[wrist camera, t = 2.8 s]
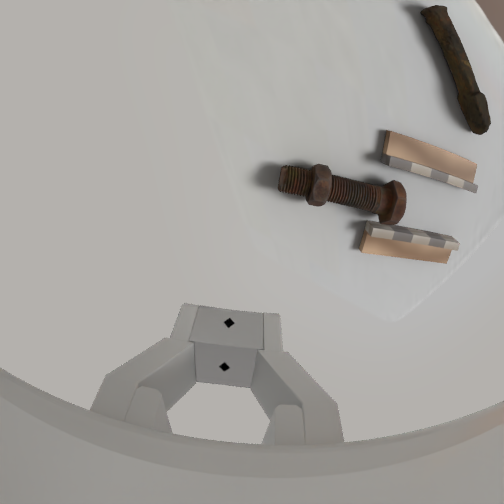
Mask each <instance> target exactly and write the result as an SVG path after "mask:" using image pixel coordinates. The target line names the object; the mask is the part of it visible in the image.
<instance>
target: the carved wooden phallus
mask: <svg viewBox="0 0 504 504" xmlns="http://www.w3.org/2000/svg"><path fill="white" fill-rule="evenodd" d="M421 14H422V15H424V16H425V17H426V23H427V24H429V25H430V26H431V28H432V30H433V32H434V34H435V36H436V38H437V39H438V41H439V44H440V46H441V48H442V50H443V52H444V57H445V58H446V60H447V62H448V65H449V68H450V70H451V72H452V75H453V77H454V80H455V83H456V86H457V89H458V91H459V95H458V101H459V104H460V107H461V109H462V111H463V114H464V116H465V118H466V120H467V122H468V124H469V126H470V128H471V130H472V132H473V133H475V134H479V135H482V134H483V133H485V132H487V130H488V129H489V125H490V124H491V121H490V116H489V111H488V104H487V100H486V97H485V95H484V94H483V93H481V92H480V90H479V88H478V85H477V83H476V80H475V76H474V73H473V71H472V68H471V65H470V63H469V60H468V57H467V55H466V53H465V50H464V48H463V45H462V43H461V40H460V38H459V36H458V34H457V32H456V30H455V28H454V25H453V24H452V21H451V19H450V17H449V16H448V13H447V7H445V6H438V5H435V6H431V7H428V8H425V9H423V10H422V11H421Z"/></svg>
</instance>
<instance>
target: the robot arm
mask: <svg viewBox="0 0 504 504" xmlns="http://www.w3.org/2000/svg"><path fill="white" fill-rule="evenodd" d="M196 382H204V383H212V384H222V385H223V384H224V385H229V386H237V387H246V388H251V391H252V392H253V394H254V395H255V397H256V399H257V400H258V402H259V404H260V405H261V407H262V408H263V410H264V411H265V413H266V414H267V416H268V418H269V419H270V423H269V426H268V428H267V431H266V434H265V437H264V439H263V441H262V444H245V443H233V442H224V441H215V440H207V439H200V438H194V437H188V436H182V435H177V434H173V433H172V430H171V426H170V423H169V420H168V416H167V411H168V410H169V409H170V408H171V407H172V406H173V405H174V404H175V403H176V402H177V401H178V400H179V399H180V398H181V397H182V396H184V395H185V394H186V393H187V392H188V391H189V390H190V389H191V388H192V387H193V386H194V385H195V384H196ZM0 504H504V401H502V402H500V403H498V404H495V405H493V406H491V407H488V408H486V409H484V410H481V411H478V412H476V413H473V414H470V415H467V416H464V417H462V418H459V419H456V420H453V421H449V422H446V423H443V424H439V425H436V426H432V427H428V428H425V429H420V430H416V431H412V432H408V433H403V434H398V435H393V436H387V437H382V438H376V439H369V440H362V441H353V442H344V439H343V433H342V427H341V422H340V416H339V411H338V406H337V403H336V402H335V401H334V400H333V399H332V398H331V397H330V396H329V395H328V394H327V393H326V392H325V391H324V389H323V388H322V387H321V386H320V385H319V384H318V383H317V382H316V381H315V380H314V379H313V378H312V377H311V376H310V375H309V374H308V373H307V372H306V371H305V370H304V369H303V367H302V366H301V365H300V364H299V363H298V362H297V361H296V360H295V359H294V358H293V357H292V356H291V355H290V354H289V352H283V345H282V331H281V318H280V315H279V314H276V313H256V312H247V311H237V310H229V309H221V308H215V307H207V306H201V305H200V306H199V305H193V304H187V303H184V304H183V305H182V307H181V309H180V312H179V314H178V317H177V320H176V323H175V325H174V328H173V331H172V333H171V336H170V338H164V339H162V340H161V341H159V342H157V343H156V344H154V345H153V346H151V347H150V348H148V349H147V350H145V351H143V352H142V353H140V354H139V355H137V356H136V357H134V358H133V359H131V360H129V361H128V362H126V363H124V364H123V365H121V366H120V367H118V368H117V369H115V370H113V371H112V372H110V373H109V374H107V375H106V376H105V378H104V380H103V383H102V385H101V387H100V389H99V391H98V393H97V395H96V398H95V400H94V402H93V404H92V407H91V409H90V410H87V409H84V408H82V407H79V406H76V405H74V404H72V403H69V402H67V401H64V400H62V399H60V398H57V397H55V396H53V395H51V394H49V393H46V392H44V391H42V390H40V389H38V388H36V387H34V386H32V385H30V384H28V383H26V382H24V381H22V380H21V379H19V378H17V377H15V376H14V375H12V374H10V373H8V372H7V371H5V370H3V369H2V368H0Z"/></svg>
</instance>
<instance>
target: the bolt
mask: <svg viewBox="0 0 504 504" xmlns="http://www.w3.org/2000/svg"><path fill="white" fill-rule="evenodd" d="M278 190H279V191H280V192H281V191H282V192H285V193H287V192H288V193H290V192H291V194H293V193H294V195H295V194H297V195H300V196H301V195H303V196H306V201H307V203H308V204H309V205H313V206H322V205H324V204H325V203H326V201H328V202H329V201H330V202H332V201H333V203H336V204H337V203H338V204H342V205H346V206H351V207H356V208H359V209H362V210H363V209H364V210H367V211H371V212H372V213H376V214H378V216H379V222H380V224H383V225H395V224H398V222H399V221H400V220H401V218H402V217H403V215H404V213H405V209H406V191H405V189H404V187H403V185H402V184H401V182H398V181H395V180H392V181H391V182H389V183H387V184H385V185H383V187H381V186H374V185H371V184H367V183H364V182H359V181H356V180H351V179H347V178H343V177H342V178H341V177H340V176H339V177H338V176H335V175H334V176H333V175H331V170H330V169H329V167H328V166H326V165H322V164H317V165H314V166H313V167H312V169H311V170H307V169H306V170H305V169H303V170H302V168H300V169H299V167H298V168H296V167H294V168H293V166H291V167H290V165H289V166H287V165H286V166H282V167H281V172H280V178H279V184H278Z"/></svg>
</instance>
